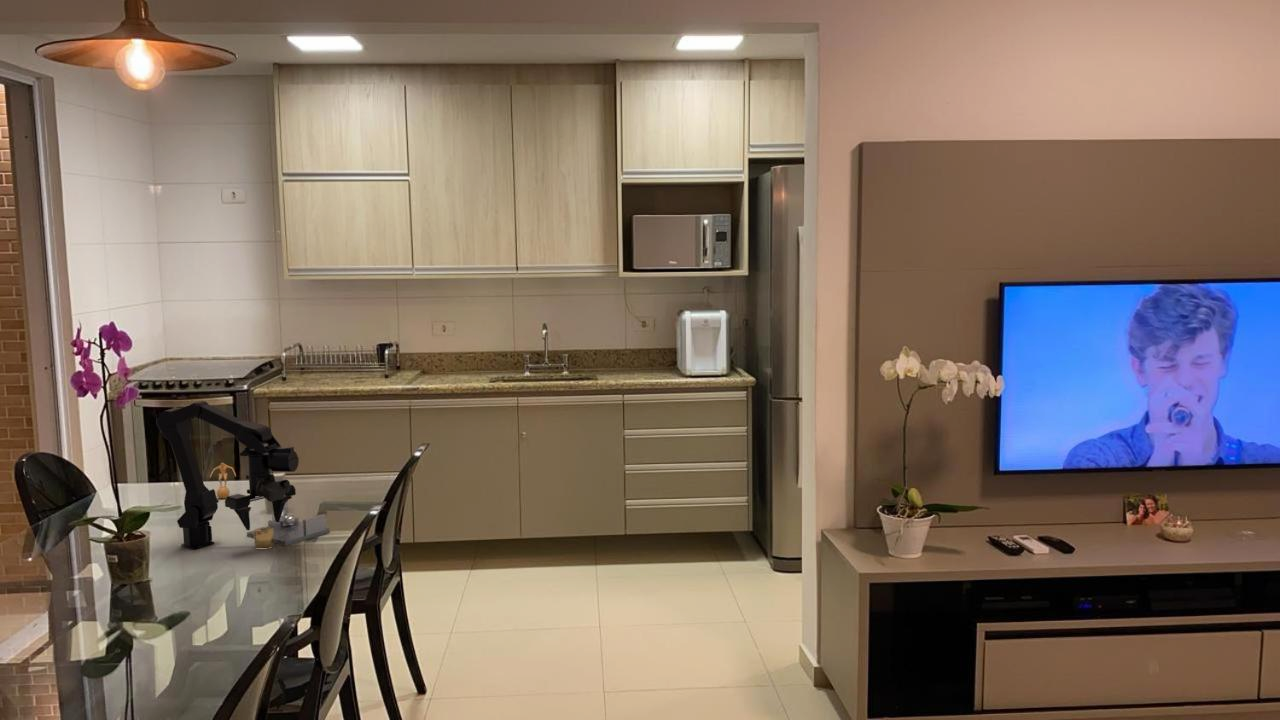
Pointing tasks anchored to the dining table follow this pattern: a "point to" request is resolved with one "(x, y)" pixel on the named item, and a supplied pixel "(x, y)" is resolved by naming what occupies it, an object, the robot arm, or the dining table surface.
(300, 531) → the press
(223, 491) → the figurine
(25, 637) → the dining table surface
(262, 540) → the cylinder
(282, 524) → the ram
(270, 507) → the skincare box
